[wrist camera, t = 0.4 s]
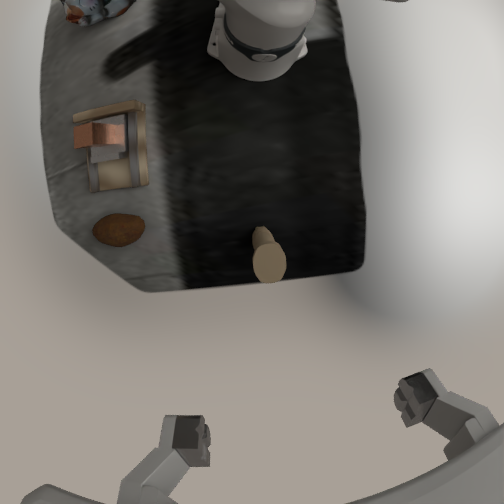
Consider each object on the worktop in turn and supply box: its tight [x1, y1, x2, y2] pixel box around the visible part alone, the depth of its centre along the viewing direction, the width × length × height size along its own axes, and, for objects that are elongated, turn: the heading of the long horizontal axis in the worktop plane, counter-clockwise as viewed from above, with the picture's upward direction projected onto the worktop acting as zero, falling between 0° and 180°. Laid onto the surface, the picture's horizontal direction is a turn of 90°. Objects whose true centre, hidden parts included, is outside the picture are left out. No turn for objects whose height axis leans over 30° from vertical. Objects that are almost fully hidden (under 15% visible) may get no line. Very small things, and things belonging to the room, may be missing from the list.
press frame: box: [73, 100, 149, 193], centre depth 43 cm, size 16×13×6 cm
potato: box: [92, 214, 145, 247], centre depth 49 cm, size 7×12×7 cm, turn 98°
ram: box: [74, 114, 129, 164], centre depth 39 cm, size 8×7×12 cm
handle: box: [252, 226, 286, 283], centre depth 48 cm, size 5×6×15 cm
